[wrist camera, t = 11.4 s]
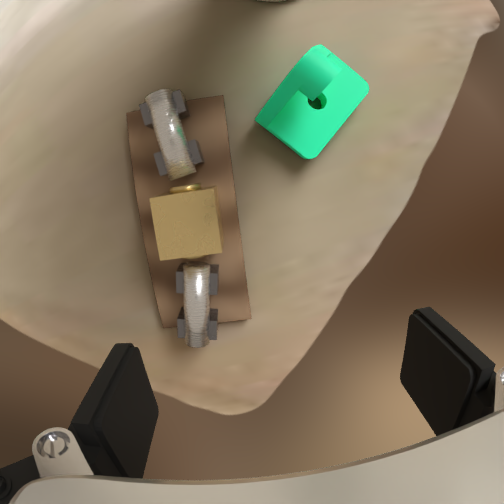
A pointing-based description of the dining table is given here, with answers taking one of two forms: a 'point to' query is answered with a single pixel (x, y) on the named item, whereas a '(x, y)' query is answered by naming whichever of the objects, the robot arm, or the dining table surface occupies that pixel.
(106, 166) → the dining table surface
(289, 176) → the dining table surface
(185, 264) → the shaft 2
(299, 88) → the camera mount
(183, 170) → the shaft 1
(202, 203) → the gold square block
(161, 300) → the shaft bed
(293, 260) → the dining table surface
